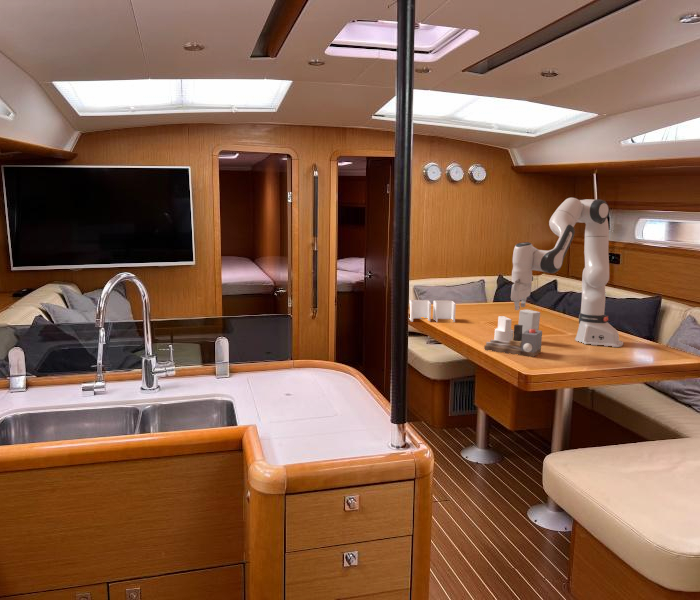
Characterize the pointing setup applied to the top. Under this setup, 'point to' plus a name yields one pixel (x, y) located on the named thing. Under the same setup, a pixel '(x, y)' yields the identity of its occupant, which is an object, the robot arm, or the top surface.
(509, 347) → the rail board
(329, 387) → the top surface
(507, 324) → the base with upright slab
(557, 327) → the top surface
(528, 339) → the end cabinet
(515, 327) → the carriage
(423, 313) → the white slotted rack
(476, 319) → the top surface
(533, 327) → the skincare box
